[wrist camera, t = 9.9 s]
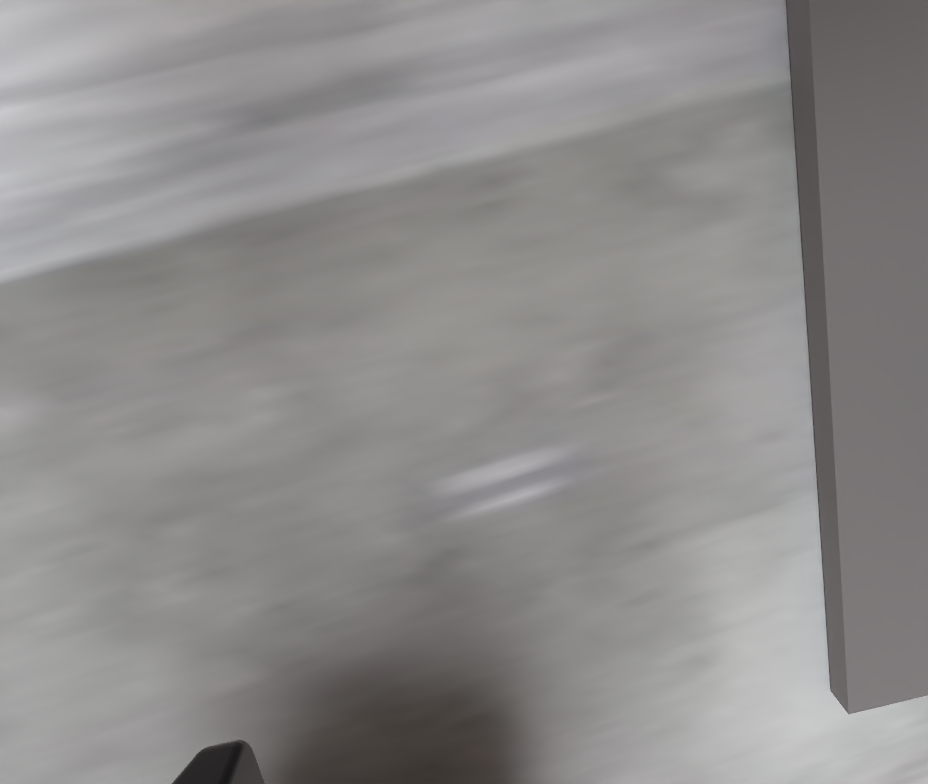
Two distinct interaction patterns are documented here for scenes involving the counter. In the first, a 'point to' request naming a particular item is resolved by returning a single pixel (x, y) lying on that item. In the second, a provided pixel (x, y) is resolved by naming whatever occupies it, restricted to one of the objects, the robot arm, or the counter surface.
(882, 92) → the peg stand
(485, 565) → the counter surface
